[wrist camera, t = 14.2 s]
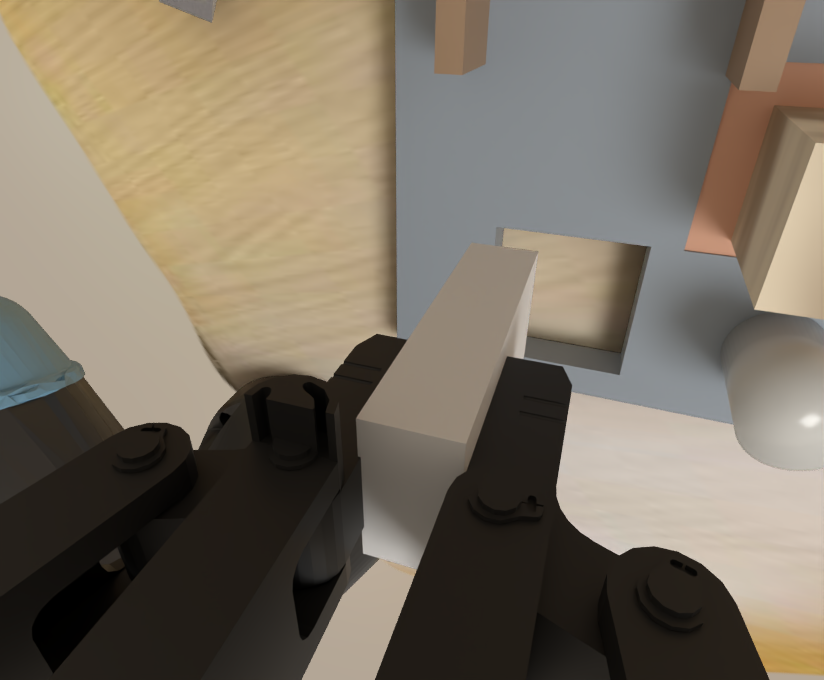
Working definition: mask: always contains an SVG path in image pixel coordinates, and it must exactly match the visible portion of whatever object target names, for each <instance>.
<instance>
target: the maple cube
mask: <svg viewBox="0 0 824 680" xmlns="http://www.w3.org/2000/svg"><path fill="white" fill-rule="evenodd" d="M731 242H732V245H733V248H734V251H735V254H736V257H737V260H738V263H739V266H740V269H741V272H742V275H743V278H744V281H745V284H746V287H747V289H748V292H749V295H750V298H751V301H752V304H753V307H754V310H761V311H768V312H775V313H781V314H788V315H795V316H802V317H809V318H815V319H822V320H824V108H815V107H797V106H779V105H774V108H773V111H772V114H771V117H770V120H769V123H768V126H767V129H766V133H765V136H764V139H763V142H762V145H761V148H760V151H759V154H758V158H757V161H756V164H755V167H754V170H753V173H752V176H751V179H750V182H749V186H748V189H747V192H746V195H745V198H744V201H743V204H742V207H741V211H740V214H739V217H738V220H737V223H736V226H735V229H734V232H733V235H732V239H731Z"/></svg>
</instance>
